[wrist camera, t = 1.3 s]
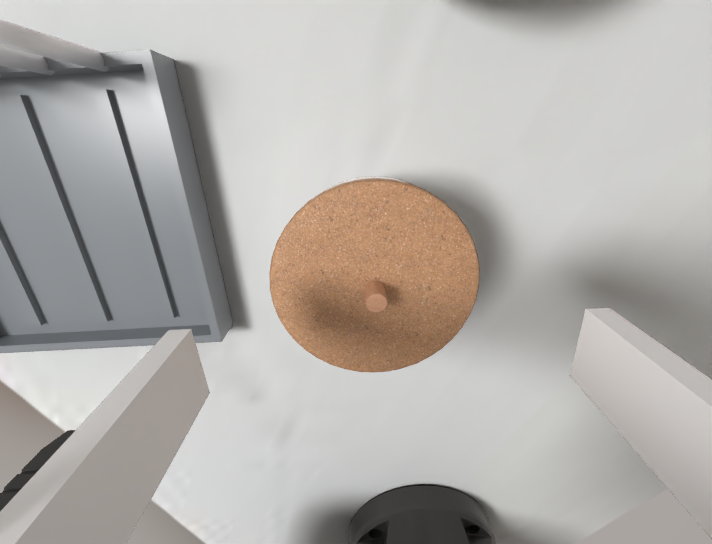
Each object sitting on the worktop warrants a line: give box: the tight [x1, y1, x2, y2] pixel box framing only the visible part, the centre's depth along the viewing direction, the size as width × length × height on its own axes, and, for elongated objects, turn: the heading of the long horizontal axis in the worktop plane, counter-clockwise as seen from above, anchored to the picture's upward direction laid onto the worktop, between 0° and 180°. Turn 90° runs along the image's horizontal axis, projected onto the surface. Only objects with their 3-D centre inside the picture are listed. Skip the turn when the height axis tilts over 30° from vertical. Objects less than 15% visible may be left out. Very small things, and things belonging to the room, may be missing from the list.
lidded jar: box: [270, 176, 480, 372], centre depth 20 cm, size 11×11×9 cm
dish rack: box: [0, 20, 233, 353], centre depth 19 cm, size 18×18×9 cm
